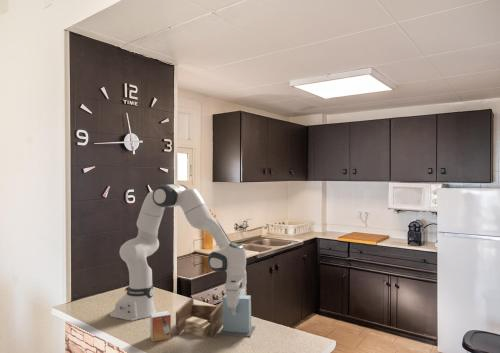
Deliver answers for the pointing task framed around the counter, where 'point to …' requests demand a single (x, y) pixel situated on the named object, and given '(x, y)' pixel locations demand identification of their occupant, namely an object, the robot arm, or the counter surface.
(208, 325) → the offcut stack
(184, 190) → the robot arm
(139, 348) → the counter surface
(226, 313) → the pale blue upright block
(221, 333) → the rubber mat
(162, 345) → the counter surface
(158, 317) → the small box
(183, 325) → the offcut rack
